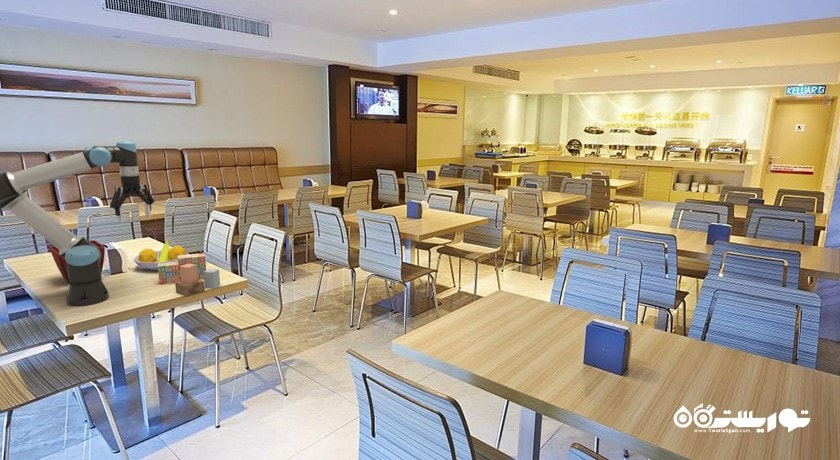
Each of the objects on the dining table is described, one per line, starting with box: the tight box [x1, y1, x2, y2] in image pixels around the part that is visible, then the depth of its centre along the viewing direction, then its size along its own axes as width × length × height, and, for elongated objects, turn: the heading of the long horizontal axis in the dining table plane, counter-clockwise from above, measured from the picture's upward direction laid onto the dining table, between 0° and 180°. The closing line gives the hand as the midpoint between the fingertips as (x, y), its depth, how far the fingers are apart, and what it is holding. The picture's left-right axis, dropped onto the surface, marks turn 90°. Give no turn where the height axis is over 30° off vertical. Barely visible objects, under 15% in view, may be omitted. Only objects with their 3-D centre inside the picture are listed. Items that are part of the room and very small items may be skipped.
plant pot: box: [49, 239, 106, 284], centre depth 233 cm, size 19×19×17 cm
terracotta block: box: [180, 264, 198, 284], centre depth 217 cm, size 5×5×8 cm
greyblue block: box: [203, 268, 221, 289], centre depth 226 cm, size 5×5×8 cm
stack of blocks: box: [157, 252, 207, 285], centre depth 234 cm, size 21×6×12 cm, turn 118°
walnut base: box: [174, 279, 206, 297], centre depth 219 cm, size 9×9×5 cm
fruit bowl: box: [132, 239, 190, 271], centre depth 257 cm, size 28×27×11 cm
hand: (134, 220), depth 222 cm, fingers open, 13 cm apart
